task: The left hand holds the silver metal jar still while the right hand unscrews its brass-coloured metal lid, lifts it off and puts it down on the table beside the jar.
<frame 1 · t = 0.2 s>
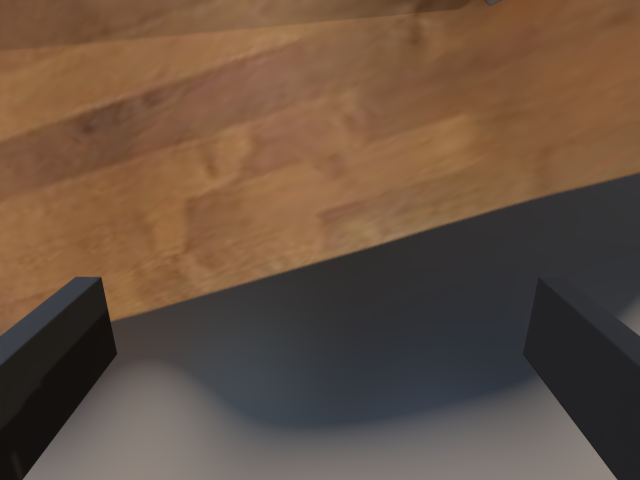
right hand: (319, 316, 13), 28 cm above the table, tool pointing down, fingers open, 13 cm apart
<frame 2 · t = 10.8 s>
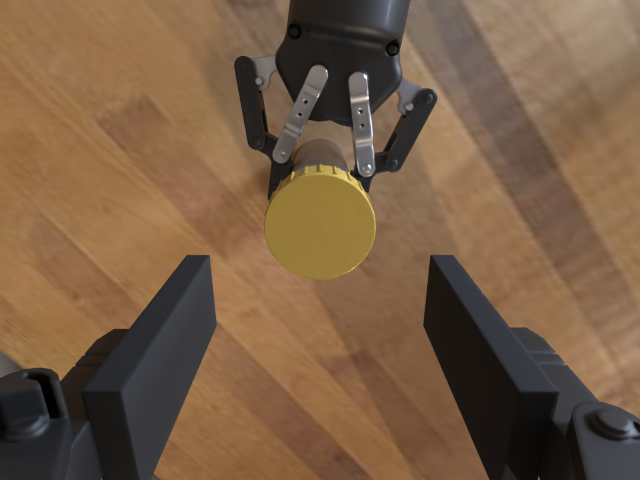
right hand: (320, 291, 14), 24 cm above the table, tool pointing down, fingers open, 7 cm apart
left hand: (314, 215, 31), fingers closed on jar, 4 cm apart
lid: (319, 227, 21), point 17 cm above the table, screwed on, not yet turned
jar: (320, 164, 37), on the table, touching left hand
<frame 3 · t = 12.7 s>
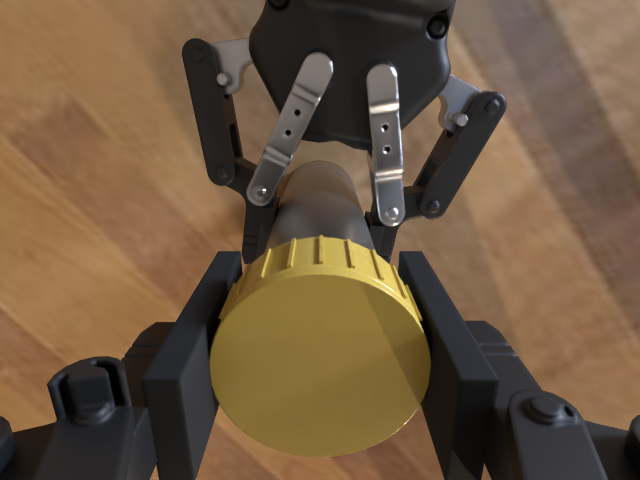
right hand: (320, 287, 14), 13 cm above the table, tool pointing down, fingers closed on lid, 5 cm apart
left hand: (312, 277, 21), fingers closed on jar, 4 cm apart
lid: (320, 365, 10), point 17 cm above the table, screwed on, not yet turned, touching right hand
jar: (320, 195, 26), on the table, touching left hand
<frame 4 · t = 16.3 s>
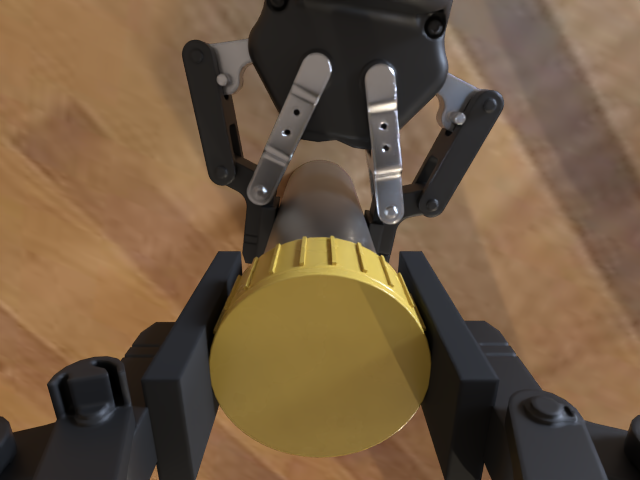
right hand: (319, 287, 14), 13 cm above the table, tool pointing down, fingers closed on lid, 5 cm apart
left hand: (312, 275, 21), fingers closed on jar, 4 cm apart
lid: (320, 365, 10), point 17 cm above the table, turned 119° so far, risen 0.2 cm, still on its thread, touching right hand
jar: (320, 194, 27), on the table, touching left hand
when the right hand's fingers open (0 cm above the table, at t = 30.1 s): lid drops 2 cm, point 2 cm above the table.
when the left hand's fingers open (7 cm above the table, at t = 31.3 s): jar stays where it is, on the table.
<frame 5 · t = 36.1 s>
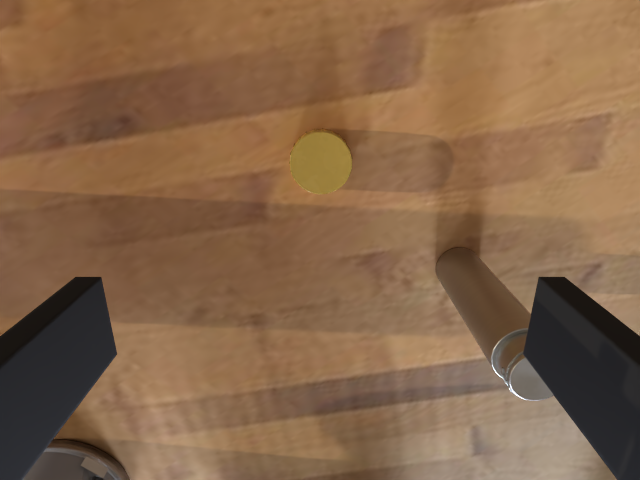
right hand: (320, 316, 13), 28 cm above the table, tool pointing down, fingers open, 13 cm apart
lid: (320, 163, 36), point 2 cm above the table, off its thread
jar: (457, 267, 42), on the table
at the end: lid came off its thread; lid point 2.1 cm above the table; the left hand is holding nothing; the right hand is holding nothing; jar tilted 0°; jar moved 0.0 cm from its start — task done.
